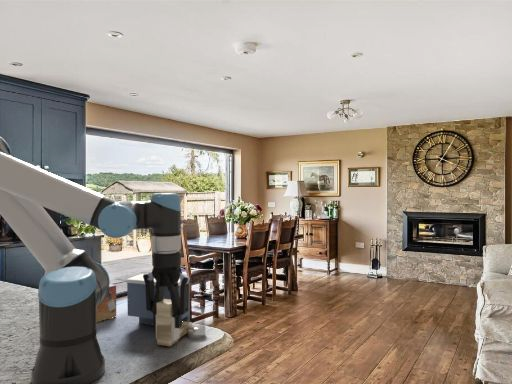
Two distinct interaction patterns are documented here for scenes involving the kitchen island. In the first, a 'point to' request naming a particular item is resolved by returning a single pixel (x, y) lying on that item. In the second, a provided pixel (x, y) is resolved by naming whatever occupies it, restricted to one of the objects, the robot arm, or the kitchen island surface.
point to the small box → (107, 305)
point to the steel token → (196, 331)
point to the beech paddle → (167, 323)
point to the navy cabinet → (138, 299)
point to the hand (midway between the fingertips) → (167, 338)
